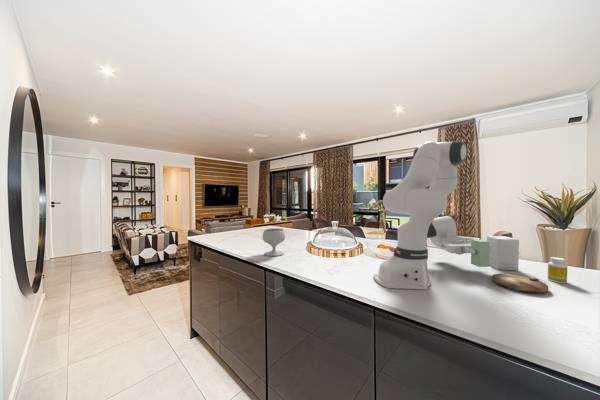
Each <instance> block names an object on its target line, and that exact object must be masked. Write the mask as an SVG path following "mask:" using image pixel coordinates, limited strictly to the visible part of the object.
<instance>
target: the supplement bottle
mask: <svg viewBox="0 0 600 400" xmlns="http://www.w3.org/2000/svg"><path fill="white" fill-rule="evenodd" d="M547 280H548V281H551V282H554V283H558V284H567V282H568V264H566V259H565V258H562V257H557V256H556V257H555V256H551V257H550V261H548V263H547Z"/></svg>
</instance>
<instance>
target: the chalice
mask: <svg viewBox="0 0 600 400" xmlns="http://www.w3.org/2000/svg"><path fill="white" fill-rule="evenodd" d="M285 239H286V233H285V231H284V229H283V228H276V227H275V228H267V229H264V230H263V232H262V241H263V242H265V243H266V244H268V245H270V246H271V248H272V250H269V251H265V252H264V255H265V256H267V257H278V256H282V255H284V254H285V253H284V251H282V250H276V247H277V246H278V245H279V244H281V243H283V242H284V241H285Z"/></svg>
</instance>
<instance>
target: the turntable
mask: <svg viewBox="0 0 600 400" xmlns="http://www.w3.org/2000/svg"><path fill="white" fill-rule="evenodd" d="M491 280H492V281H493V282H494V283H496V284H498V285H499V284H501V285H504V286H507V287H510V288H514V289H518V290H523V291H530V292H540V293H545V292H547V291H549V285H548V284H546V283H545V282H542V281H540V280H539V278H537V277H527V276H524V275H517V274H511V273H494V274H492V275H491ZM501 285H500V286H501Z"/></svg>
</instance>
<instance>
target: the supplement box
mask: <svg viewBox="0 0 600 400" xmlns="http://www.w3.org/2000/svg"><path fill="white" fill-rule="evenodd" d="M486 241H490V245H491V246H492V252H491V253H490V256H489V267H491V268H494V269H495V270H500V271H501V270H504V271H517V272H518V271H519V255H520V254H519V253H520V252H519V249H520V246H519V245H520V239H517V238H514V237H509V236H506V235H504V236H503V235H487V236H486Z"/></svg>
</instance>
